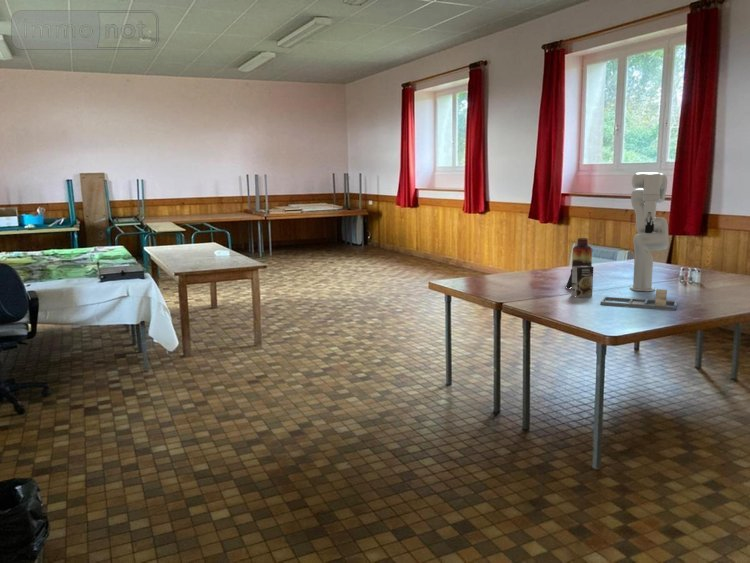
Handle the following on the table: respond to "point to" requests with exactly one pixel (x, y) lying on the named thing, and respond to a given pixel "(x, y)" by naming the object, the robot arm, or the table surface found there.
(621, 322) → the table surface
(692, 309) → the table surface
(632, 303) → the grey flat frame
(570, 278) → the phone stand
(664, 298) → the tan wooden block
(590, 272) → the coffee box
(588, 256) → the vase
